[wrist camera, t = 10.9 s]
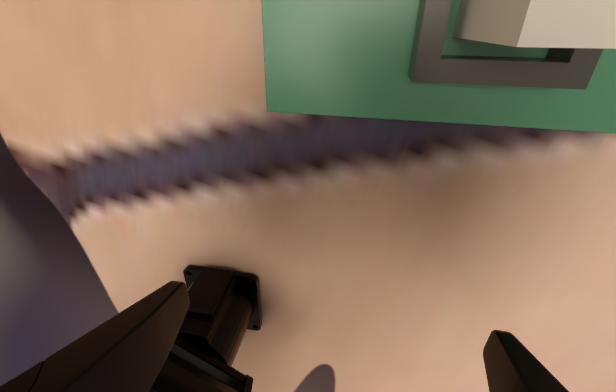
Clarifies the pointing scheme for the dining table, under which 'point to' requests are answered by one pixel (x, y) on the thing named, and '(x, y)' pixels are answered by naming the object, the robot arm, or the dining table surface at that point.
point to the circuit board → (426, 68)
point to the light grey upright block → (538, 23)
